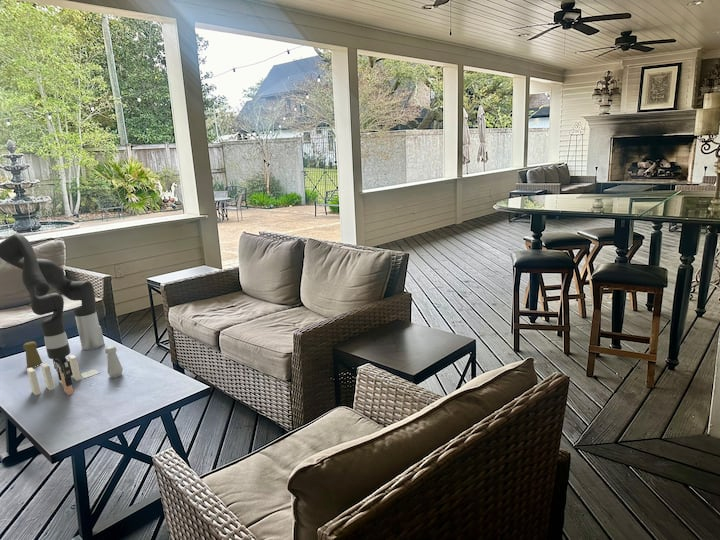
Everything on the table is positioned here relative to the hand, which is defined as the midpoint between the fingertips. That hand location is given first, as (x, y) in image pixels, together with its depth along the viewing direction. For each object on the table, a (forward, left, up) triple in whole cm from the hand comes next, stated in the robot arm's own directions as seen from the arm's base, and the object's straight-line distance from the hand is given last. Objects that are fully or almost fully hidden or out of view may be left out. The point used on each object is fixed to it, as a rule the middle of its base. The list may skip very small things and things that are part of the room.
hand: (66, 382), depth 196 cm
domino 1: (+8, -11, -4) cm, 14 cm away
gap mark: (-12, -11, -4) cm, 17 cm away
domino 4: (0, 0, -4) cm, 4 cm away
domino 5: (-7, -11, -4) cm, 14 cm away
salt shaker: (-18, +1, -4) cm, 19 cm away
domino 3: (-2, -11, -4) cm, 12 cm away
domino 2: (+3, -11, -4) cm, 12 cm away
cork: (+1, -44, -4) cm, 44 cm away
